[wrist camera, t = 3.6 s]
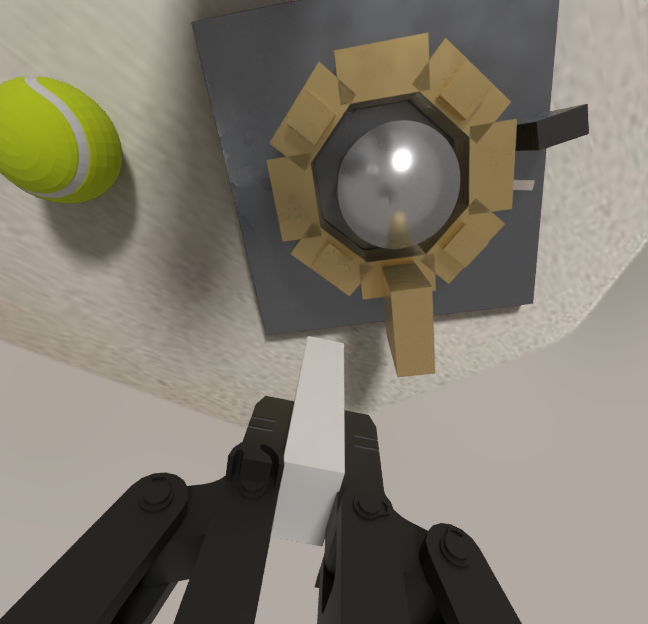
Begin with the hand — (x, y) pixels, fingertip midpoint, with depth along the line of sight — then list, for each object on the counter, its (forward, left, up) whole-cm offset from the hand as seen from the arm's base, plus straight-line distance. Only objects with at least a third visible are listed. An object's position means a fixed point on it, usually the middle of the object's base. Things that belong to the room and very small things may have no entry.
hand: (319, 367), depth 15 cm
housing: (+5, +6, -13) cm, 15 cm away
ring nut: (+5, +5, -12) cm, 13 cm away
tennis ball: (-14, +11, -14) cm, 23 cm away
